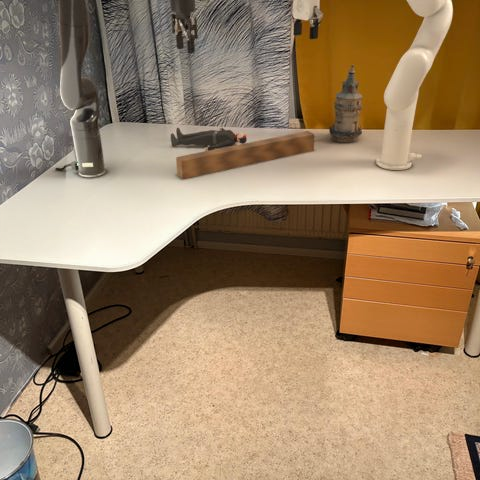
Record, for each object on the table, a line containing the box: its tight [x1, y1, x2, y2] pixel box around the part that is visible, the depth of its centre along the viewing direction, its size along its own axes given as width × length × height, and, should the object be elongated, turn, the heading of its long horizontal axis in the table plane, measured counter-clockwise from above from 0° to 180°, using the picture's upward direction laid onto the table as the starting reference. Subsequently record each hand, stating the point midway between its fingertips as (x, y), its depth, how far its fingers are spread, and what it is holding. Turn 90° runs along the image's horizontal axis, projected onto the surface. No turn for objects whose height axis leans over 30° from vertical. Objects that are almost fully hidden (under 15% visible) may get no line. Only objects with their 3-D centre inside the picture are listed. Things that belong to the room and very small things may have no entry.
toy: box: [170, 127, 248, 151], centre depth 215 cm, size 26×6×30 cm
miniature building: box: [328, 63, 363, 143], centre depth 214 cm, size 13×14×30 cm
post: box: [175, 130, 315, 180], centre depth 198 cm, size 56×5×7 cm, turn 119°
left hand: (185, 50), depth 170 cm, fingers open, 8 cm apart
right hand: (305, 36), depth 189 cm, fingers open, 9 cm apart
